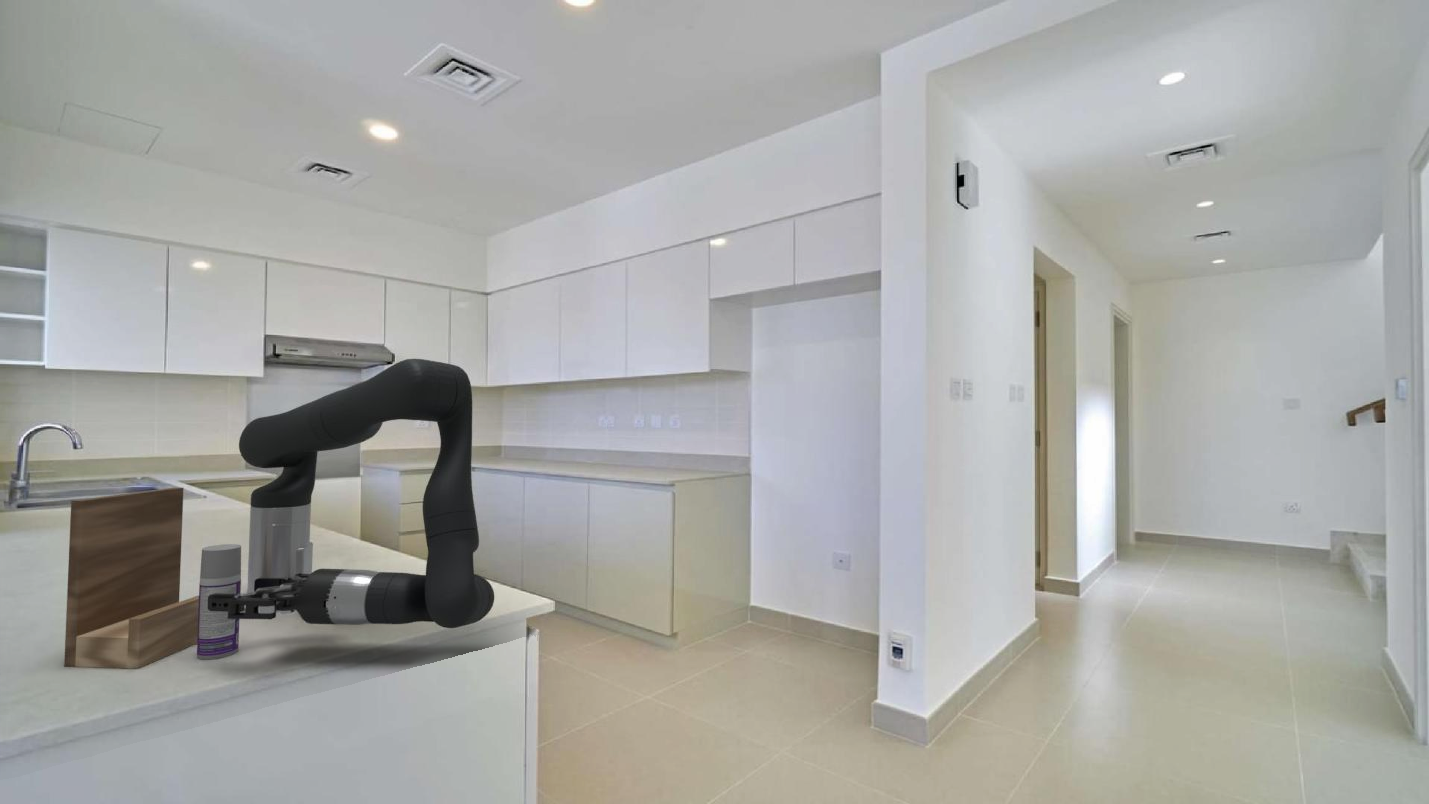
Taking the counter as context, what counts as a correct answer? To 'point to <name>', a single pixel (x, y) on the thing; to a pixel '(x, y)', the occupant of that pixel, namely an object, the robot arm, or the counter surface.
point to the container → (224, 578)
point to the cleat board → (127, 581)
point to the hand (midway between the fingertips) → (233, 593)
